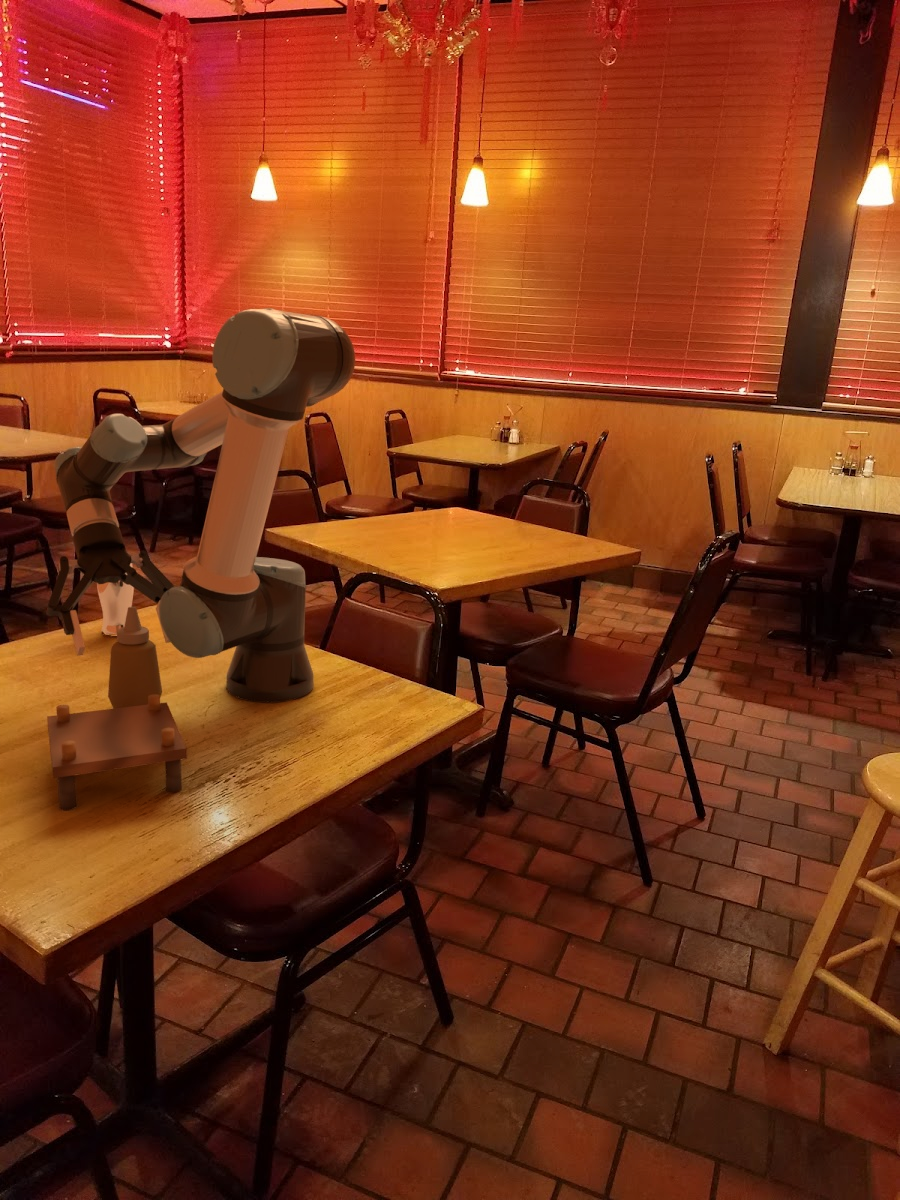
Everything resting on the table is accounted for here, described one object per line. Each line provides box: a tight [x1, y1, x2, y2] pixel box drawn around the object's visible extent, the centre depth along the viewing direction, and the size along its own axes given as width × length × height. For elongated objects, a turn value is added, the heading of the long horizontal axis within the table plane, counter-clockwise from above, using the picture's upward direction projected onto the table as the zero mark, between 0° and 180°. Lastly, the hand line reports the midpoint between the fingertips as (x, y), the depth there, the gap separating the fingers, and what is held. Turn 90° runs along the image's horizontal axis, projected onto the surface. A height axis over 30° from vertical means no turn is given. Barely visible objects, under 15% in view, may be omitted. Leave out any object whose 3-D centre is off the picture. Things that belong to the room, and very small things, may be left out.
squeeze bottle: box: [107, 606, 163, 709], centre depth 132 cm, size 8×8×18 cm
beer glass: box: [96, 563, 135, 635], centre depth 169 cm, size 7×7×15 cm
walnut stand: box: [46, 694, 188, 811], centre depth 114 cm, size 16×16×8 cm
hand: (127, 645), depth 132 cm, fingers open, 13 cm apart
